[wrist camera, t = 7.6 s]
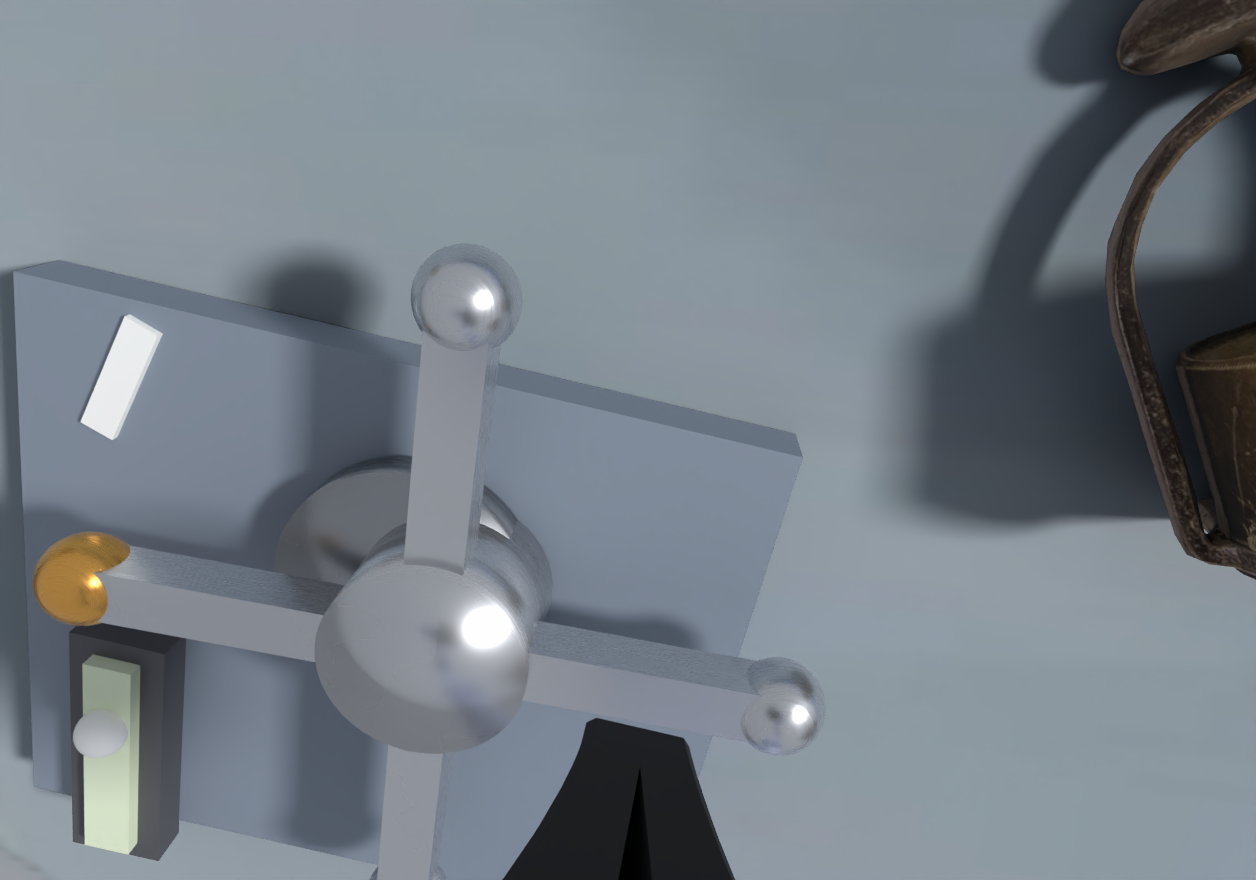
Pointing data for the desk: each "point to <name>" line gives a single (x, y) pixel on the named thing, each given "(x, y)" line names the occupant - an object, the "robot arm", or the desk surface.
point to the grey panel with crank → (254, 520)
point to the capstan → (429, 594)
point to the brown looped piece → (1220, 365)
